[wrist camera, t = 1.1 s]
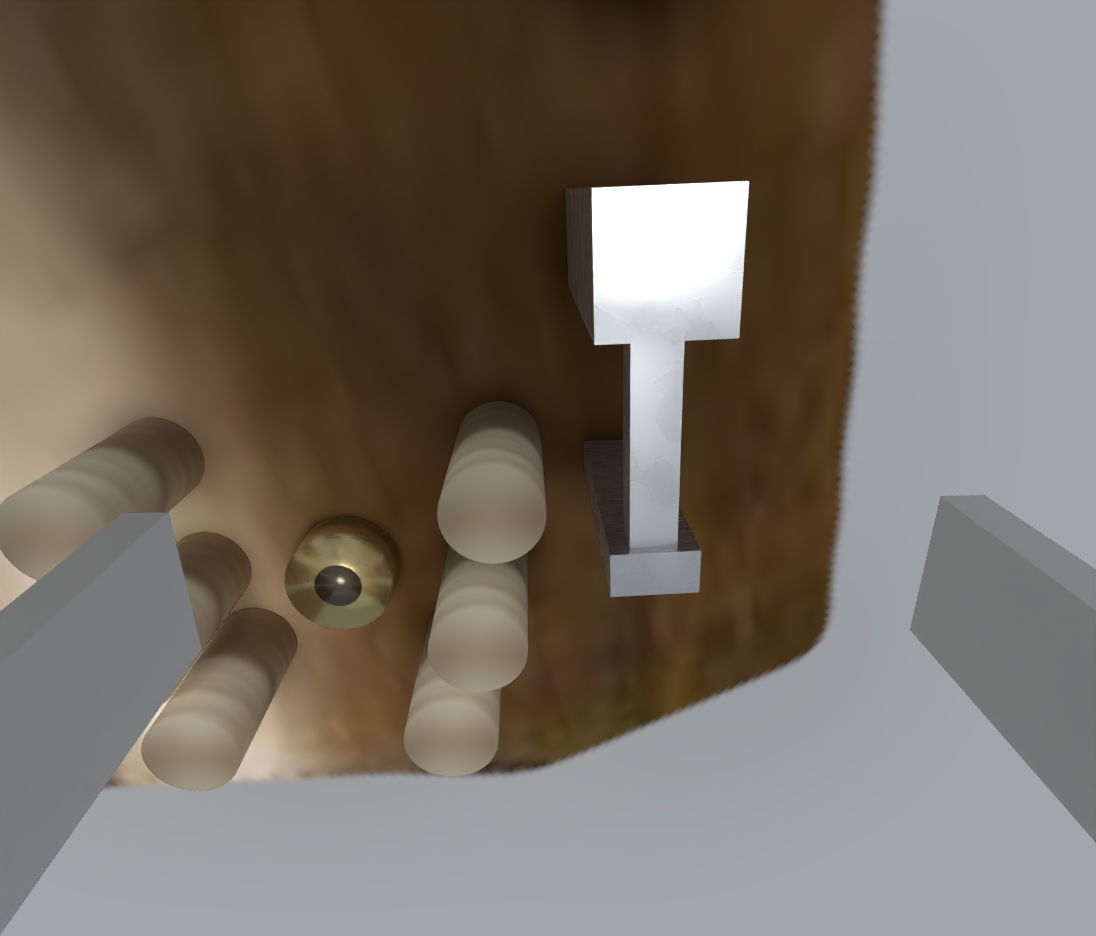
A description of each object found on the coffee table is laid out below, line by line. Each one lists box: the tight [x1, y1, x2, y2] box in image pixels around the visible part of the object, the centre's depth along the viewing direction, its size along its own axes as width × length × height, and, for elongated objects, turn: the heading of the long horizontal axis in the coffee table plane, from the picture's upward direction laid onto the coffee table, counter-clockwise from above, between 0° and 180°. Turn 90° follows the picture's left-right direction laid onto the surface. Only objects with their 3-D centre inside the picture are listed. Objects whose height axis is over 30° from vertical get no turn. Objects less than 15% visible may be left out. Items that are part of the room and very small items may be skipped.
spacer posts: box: [0, 401, 546, 791], centre depth 31 cm, size 14×20×8 cm
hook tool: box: [565, 181, 749, 597], centre depth 25 cm, size 13×4×12 cm, turn 2°
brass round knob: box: [285, 516, 400, 629], centre depth 34 cm, size 5×5×3 cm
